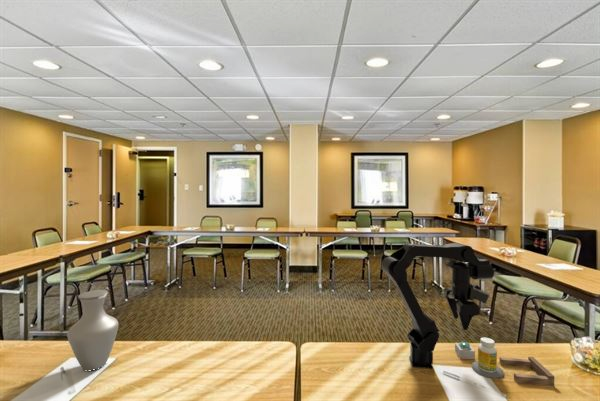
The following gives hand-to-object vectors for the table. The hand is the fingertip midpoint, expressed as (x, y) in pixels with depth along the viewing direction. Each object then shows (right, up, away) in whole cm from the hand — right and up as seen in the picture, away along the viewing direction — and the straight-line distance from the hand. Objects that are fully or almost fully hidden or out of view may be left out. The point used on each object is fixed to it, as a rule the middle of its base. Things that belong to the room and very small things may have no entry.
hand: (460, 323), depth 107 cm
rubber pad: (+6, -13, -6) cm, 16 cm away
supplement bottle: (+6, -13, -6) cm, 15 cm away
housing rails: (+17, -13, -7) cm, 23 cm away
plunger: (+4, -12, +4) cm, 13 cm away
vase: (-126, -13, -3) cm, 127 cm away
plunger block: (+4, -13, +4) cm, 14 cm away
